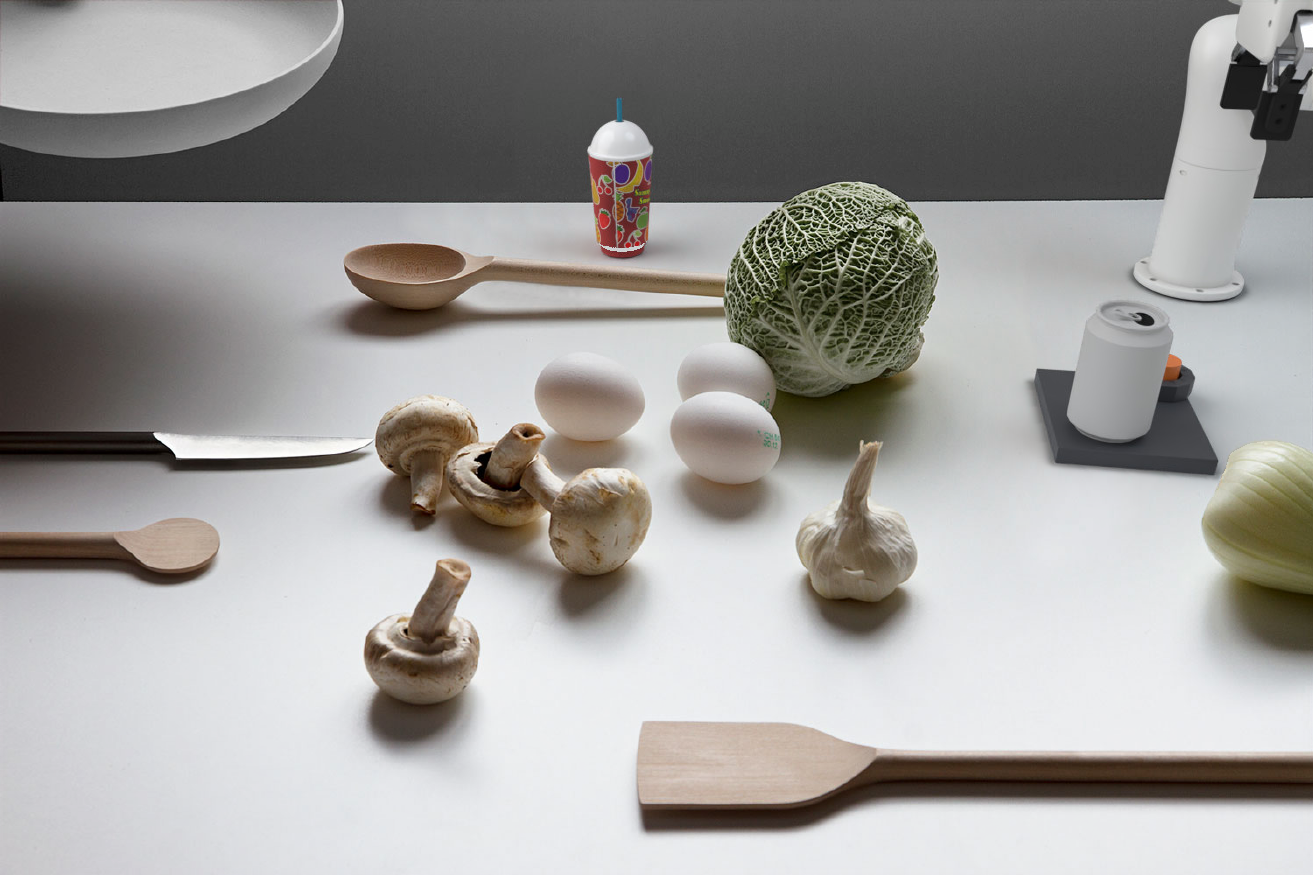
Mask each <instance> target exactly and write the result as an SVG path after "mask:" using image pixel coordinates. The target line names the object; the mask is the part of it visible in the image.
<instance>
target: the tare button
mask: <svg viewBox="0 0 1313 875" xmlns="http://www.w3.org/2000/svg"><path fill="white" fill-rule="evenodd" d="M1181 365H1183V361H1182V359H1180V357H1179V356H1176V355H1174V354H1171V353H1169V357H1168V361H1167V365H1166V369H1165V372H1164V376H1163V380H1164V381H1173V380H1177V379H1178V376H1179V372H1180V368H1181Z"/></svg>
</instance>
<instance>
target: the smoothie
mask: <svg viewBox="0 0 1313 875" xmlns="http://www.w3.org/2000/svg"><path fill="white" fill-rule="evenodd" d="M586 152H587V155H588V166H589V174H590V175H589V176H590V186H591V194H592V195H591V196H592V206H593V215H594V216H593V217H594V225H595V237H596V242H597V241H598V242H599V243H600V244H601V245H603V246H609V247H612V248H613V247H614V248H615V247H616V248H629V247H634V246H640V245H642V244H643V243H646V241H647V240H648V241H649V227H650V207H651V205H650V204H651V191H652V190H651V189H652V188H651V187H652V169H653V168H652V167H653V155H654V154H653V153H654V147H653V145H652V144H651V142H650V141H649V138H648V136H647V135H646V133H645V132H644V131H643V129H642V128H641V127H640V126H639V125H638V124H636V123H634V122H632V121H630V120H627V119H623V99H622V98H621V97H617V98H616V119H614V120H610V121H608V122H606V123H605V124H603V125H602V126H601V127H599V129H598V130H597V131H596V132H595V134H594V135H593V137H592V140H591V143H590V145H589V146H588V147H587V151H586ZM646 244H647V243H646ZM646 244H645V245H644V246H643V247H642V248H640V249H637V250H634V251H627V252H617V251H610V250H607V249H605V248H603V247H602V246H600V250H601V253H602V254H604V255H606V256H608V257H612V258H619V259H627V258H633V257H636V256H638V255H640V254H642V253H643V252H644V251H645V246H646Z"/></svg>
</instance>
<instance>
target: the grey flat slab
mask: <svg viewBox="0 0 1313 875" xmlns="http://www.w3.org/2000/svg"><path fill="white" fill-rule="evenodd" d="M1075 372H1076V370H1066V369H1054V368H1053V369H1052V368H1051V369H1050V368H1036V370H1035V376H1034V381H1033V384H1034V388H1035V391H1036V395H1037V399H1038V402H1039V407H1040V410H1041V414H1042V417H1043V422H1044V425H1045V429H1046V433H1047V437H1048V441H1049V444H1050V448H1051V452H1052V456H1053V460H1054V463H1055V464H1066V465H1076V466H1077V465H1078V466H1088V467H1105V468H1115V469H1127V470H1128V469H1129V470H1141V471H1155V472H1167V473H1168V472H1170V473H1178V474H1179V473H1180V474H1191V475H1192V474H1193V475H1206V476H1207V475H1208V476H1215V473H1216V470H1217V467H1218V463H1219V458H1218V456H1217V454H1216V452H1215V450H1214V448H1213V446H1212V445H1211V442H1210V440H1209V438H1208V436H1207V434H1206V432H1205V430H1204V428H1203V425H1202V424H1201V422H1200V420H1199V417H1198V416H1197V413H1196V412H1195V409H1194V408H1193V405H1192V404H1191V402H1190V399H1189V397H1190V395H1191V394H1192V392H1193V388H1194V384H1195V382H1196V375H1194V372H1193V370H1191V369H1190V368H1188V367H1187V366H1186V365H1184V364H1182V365H1181V368H1180V372H1179V376H1178V379H1177V380H1173V381H1164V380H1162V384H1161V388H1160V392H1159V396H1158V400H1157V403H1156V407H1155V411H1154V415H1153V419H1152V423H1151V427H1150V429H1149V431H1148V432H1147V433H1146V434H1144V435H1142V436H1140V437H1138V438H1136V439H1134V440H1132V441H1130V442H1124V443H1109V442H1103V441H1099V440H1096V439H1092V438H1090V437H1088V436H1086V435H1084V434H1082V433H1081V432H1080V431H1078V430H1077V429H1076V427H1075V425H1074V424H1072V423H1071V422H1070V420H1069V418H1068V416H1067V410H1068V405H1069V400H1070V396H1071V391H1072V386H1073V381H1074V377H1075Z"/></svg>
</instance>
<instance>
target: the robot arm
mask: <svg viewBox="0 0 1313 875" xmlns="http://www.w3.org/2000/svg"><path fill="white" fill-rule="evenodd" d="M1227 1H1228V2H1230V3H1231V4H1234V5H1237V6H1240V7H1239V12H1238V13H1234V14H1225V15H1221V16H1217V17H1215V18H1212V19H1210V20H1208V21H1207V22H1204V24H1203V25H1202V26H1201V27H1200V28H1199V29H1198V30H1197V32H1196V33H1195V35H1194V37H1193V40H1192V42H1191V46H1190V49H1189V50H1190V51H1189V55H1188V56H1189V57H1188V65H1187V77H1186V78H1187V79H1186V92H1185V98H1184V106H1183V113H1182V118H1181V125H1180V128H1179V134H1178V138H1177V143H1176V147H1175V150H1174V155H1173V159H1172V164H1171V168H1170V173H1169V176H1168V180H1167V185H1166V190H1165V194H1164V197H1163V203H1162V206H1161V209H1160V210H1161V211H1160V216H1159V219H1158V224H1157V229H1156V231H1155V237H1154V241H1153V244H1152V250H1151V254H1150V255H1149V256H1146V257H1143V258H1141V259H1139V260H1138V261H1137V262H1136V263H1135V265H1134V268H1133V277H1134V278H1135V280H1136V281H1137V283H1139V284H1140V285H1142V286H1143V287H1145V288H1146V289H1149V290H1151V291H1152V292H1156V293H1158V294H1161V295H1164V296H1168V297H1172V298H1176V299H1180V300H1181V299H1182V300H1188V301H1199V302H1215V301H1216V302H1217V301H1224V300H1230V299H1231V298H1232V299H1233V298H1235V297H1237V296H1238V295H1240V294H1241V292H1242V291H1243V289H1244V285H1245V279H1244V277H1243V276H1242V274H1241V273H1240V272H1238V270H1236V269H1235V264H1236V262H1237V258H1238V254H1239V252H1240V251H1239V250H1240V247H1241V243H1242V240H1243V236H1244V232H1245V229H1246V227H1247V226H1246V225H1247V222H1248V218H1249V214H1250V211H1251V208H1252V204H1253V201H1254V196H1255V193H1256V190H1257V186H1258V182H1259V179H1260V175H1261V171H1262V168H1263V165H1264V161H1265V157H1266V153H1267V141H1274V142H1275V141H1276V142H1277V141H1278V142H1288V141H1290V140H1291V139H1292V137H1293V133H1294V130H1295V128H1296V123H1297V120H1298V116H1299V112H1300V111H1310V112H1311V111H1312V112H1313V0H1227ZM1252 111H1255V112H1254V113H1253V112H1252Z"/></svg>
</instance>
